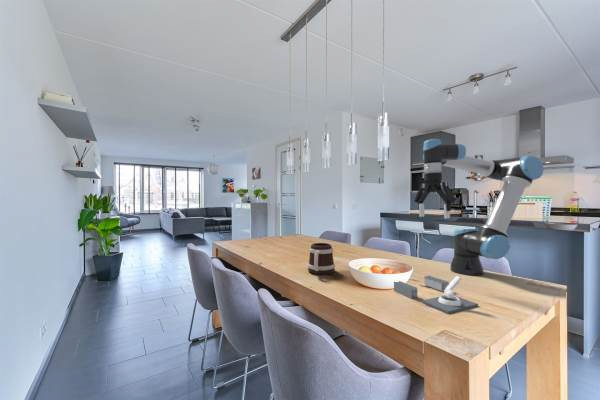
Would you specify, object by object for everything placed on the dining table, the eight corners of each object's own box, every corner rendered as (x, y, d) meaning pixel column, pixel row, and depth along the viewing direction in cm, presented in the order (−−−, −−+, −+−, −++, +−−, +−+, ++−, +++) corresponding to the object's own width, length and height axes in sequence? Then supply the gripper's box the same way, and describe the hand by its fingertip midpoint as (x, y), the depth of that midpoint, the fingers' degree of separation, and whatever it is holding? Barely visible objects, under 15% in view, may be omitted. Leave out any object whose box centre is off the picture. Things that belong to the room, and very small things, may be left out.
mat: (451, 296, 110) (450, 294, 110) (478, 306, 99) (478, 303, 99) (421, 302, 103) (421, 300, 103) (447, 313, 93) (447, 311, 93)
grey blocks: (429, 284, 125) (429, 275, 125) (448, 291, 115) (448, 281, 115) (393, 290, 116) (393, 281, 116) (411, 298, 107) (411, 288, 107)
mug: (311, 267, 158) (311, 241, 158) (337, 269, 153) (337, 242, 153) (301, 276, 139) (301, 247, 139) (330, 279, 134) (329, 249, 134)
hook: (479, 291, 97) (466, 282, 96) (458, 316, 99) (444, 307, 97) (465, 281, 104) (452, 272, 103) (445, 304, 106) (432, 296, 104)
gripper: (406, 174, 137) (407, 216, 137) (452, 169, 114) (453, 219, 114) (416, 174, 140) (418, 215, 140) (463, 170, 117) (464, 218, 118)
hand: (433, 217), depth 127 cm, fingers open, 13 cm apart
